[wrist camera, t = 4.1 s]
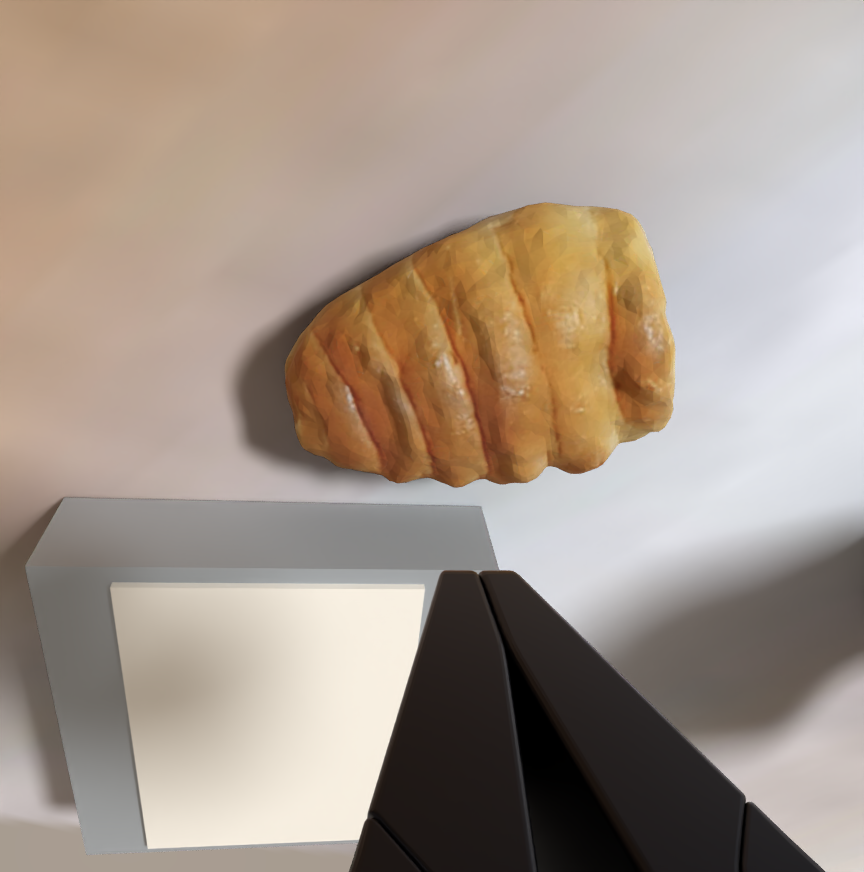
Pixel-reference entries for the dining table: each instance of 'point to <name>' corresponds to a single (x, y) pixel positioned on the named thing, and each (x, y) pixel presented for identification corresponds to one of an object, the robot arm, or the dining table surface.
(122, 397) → the dining table surface
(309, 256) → the dining table surface
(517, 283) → the pastry
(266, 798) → the plinth
